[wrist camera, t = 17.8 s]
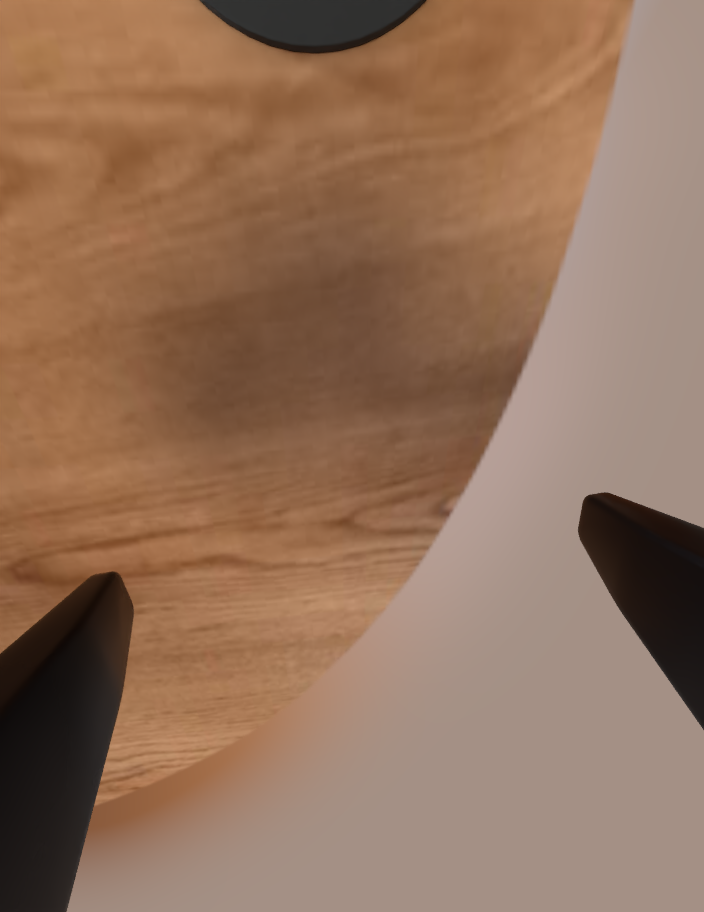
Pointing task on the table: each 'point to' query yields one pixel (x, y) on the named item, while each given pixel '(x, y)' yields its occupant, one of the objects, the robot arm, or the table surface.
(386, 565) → the table surface
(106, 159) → the table surface
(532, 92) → the table surface
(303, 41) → the mat
